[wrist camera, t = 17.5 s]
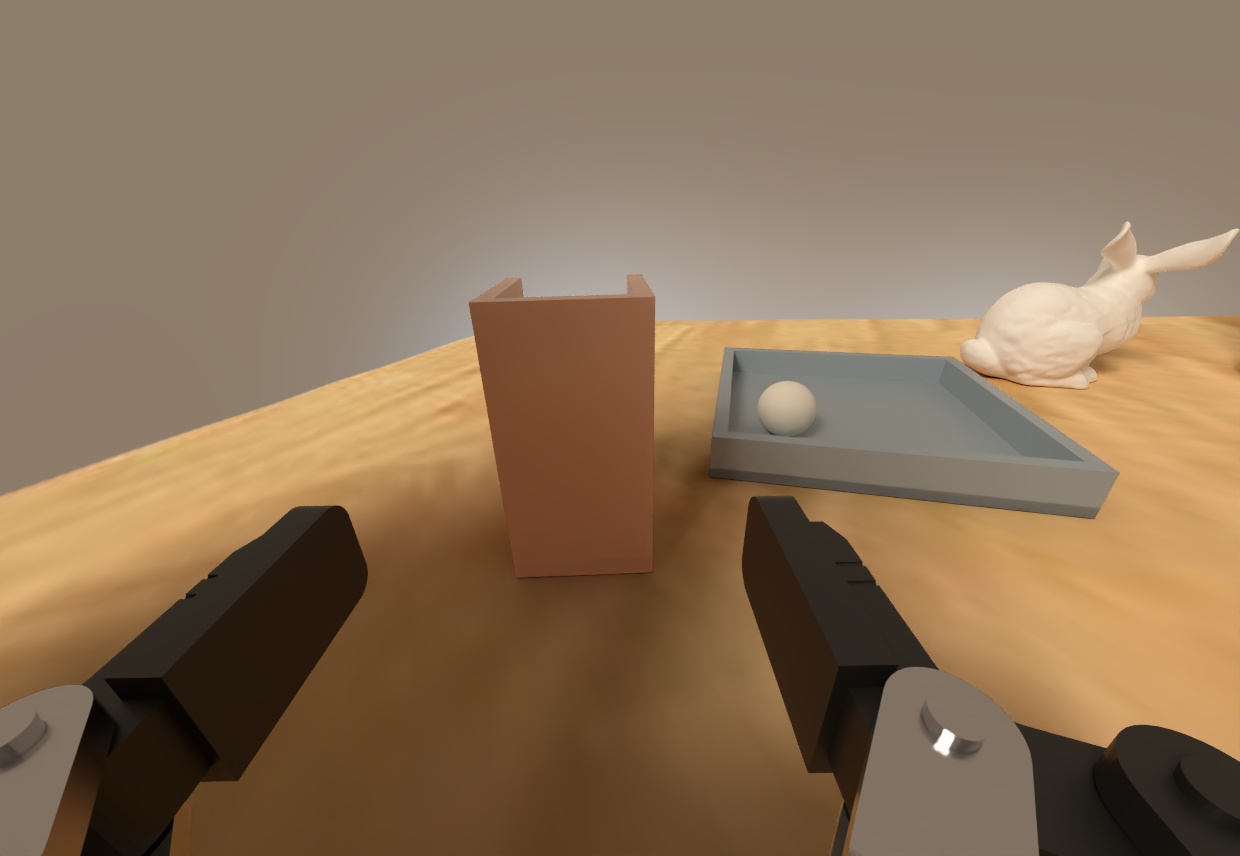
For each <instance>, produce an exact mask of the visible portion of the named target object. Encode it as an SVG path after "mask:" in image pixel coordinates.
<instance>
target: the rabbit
mask: <svg viewBox="0 0 1240 856" xmlns="http://www.w3.org/2000/svg"><path fill="white" fill-rule="evenodd" d="M1130 228H1131V224H1130V223H1129V222H1126V223H1124V224H1123V226H1122V229H1121V232H1120V233H1119V234H1118V235H1117V236H1116V237H1115V238H1114V239H1113V240H1112V241H1111V242H1110V243H1109V244H1107V245H1106V246H1105V247H1104V248H1103V249H1102V251H1101V255H1102V256H1103V257H1104V259H1103V260H1102V261H1101V263H1100V265H1099V269H1098V270H1097V271H1096V273H1095V274H1094V275H1093V276H1092V277H1091V278H1090V279H1089V280H1088V281H1087V282H1086V283H1085V285H1084V286H1082V287H1078V288H1074V287H1070V286H1067V285H1062V284H1056V283H1047V282H1039V283H1031V284H1027V285H1024V286H1021V287H1019V288H1016V289H1014V290H1011V291H1010V292H1008V293H1007V294H1005V295H1004V296H1002V297H1001V298H999V299H998V300H997V301H996V303H995V304H994V305H993V306H992V307H991V308H990V309H989V310H988V311H987V312H986V314H985V315H984V316H983V318H982V320H981V323H980V325H979V327H978V331H977V335H976V338H975V339H970V340H967V341H966V342H964V343H963V345H962V346H961V351H960V356H961V358H962V360H963V361H964V363H966V364H967V365H968V366H969V367H971V368H973V369H974V370H976V371H978V372H980V373H982V374H985V375H988V376H993V377H999V378H1004V379H1007V380H1011V381H1013V382H1016V383H1019V384H1024V385H1031V386H1045V387H1061V388H1073V389H1088V388H1089V383H1090V382H1095V381H1097V379H1098V377H1097V374H1096V372H1095V370H1094V369H1092V368H1091V367H1089V364H1090V363H1091V361H1092V360H1093V359H1094V358H1095V357H1096V355H1100V354H1104V353H1106V352H1108V351H1111V350H1114V349H1116V348H1118V347H1120V346H1122V345H1124V344H1126V343H1127V342H1128V341H1130V340H1131V339H1132V338H1133V337H1134V336H1135V335H1136V333H1137V331H1138V329H1139V327H1140V324H1141V318H1142V308H1141V305H1142V304H1143V303H1144V302H1146V301H1147V300H1148V299H1149V298H1150V297H1152V296H1153V295H1154V293H1155V291H1156V288H1157V276H1158V272H1165V271H1172V270H1183V269H1196V268H1200V267H1203V266H1206V265H1208V264H1210V263H1212V262H1213V261H1215V260H1216V259H1217V258H1219V257H1220V256H1221V255H1222V254H1223V253H1224V251H1225V250H1226V248H1227V247H1228V245H1229V244H1230V242H1231V241H1232V239H1233V238H1234V236H1235V235H1236V234H1237V233H1238V232H1239V229H1234V230H1231V231H1229V232H1227V233H1225V234H1222V235H1220V236H1216V237H1213V238H1210V239H1206V240H1201V241H1196V242H1192V243H1188V244H1185V245H1182V246H1178V247H1176V248H1173V249H1170V250H1167V251H1164V252H1162V253H1159V254H1157V255H1154V256H1145V255H1136V252H1137V251H1136V250H1137V247H1136V241H1135V238H1134V236H1133V234H1132V233H1131V230H1130Z"/></svg>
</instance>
